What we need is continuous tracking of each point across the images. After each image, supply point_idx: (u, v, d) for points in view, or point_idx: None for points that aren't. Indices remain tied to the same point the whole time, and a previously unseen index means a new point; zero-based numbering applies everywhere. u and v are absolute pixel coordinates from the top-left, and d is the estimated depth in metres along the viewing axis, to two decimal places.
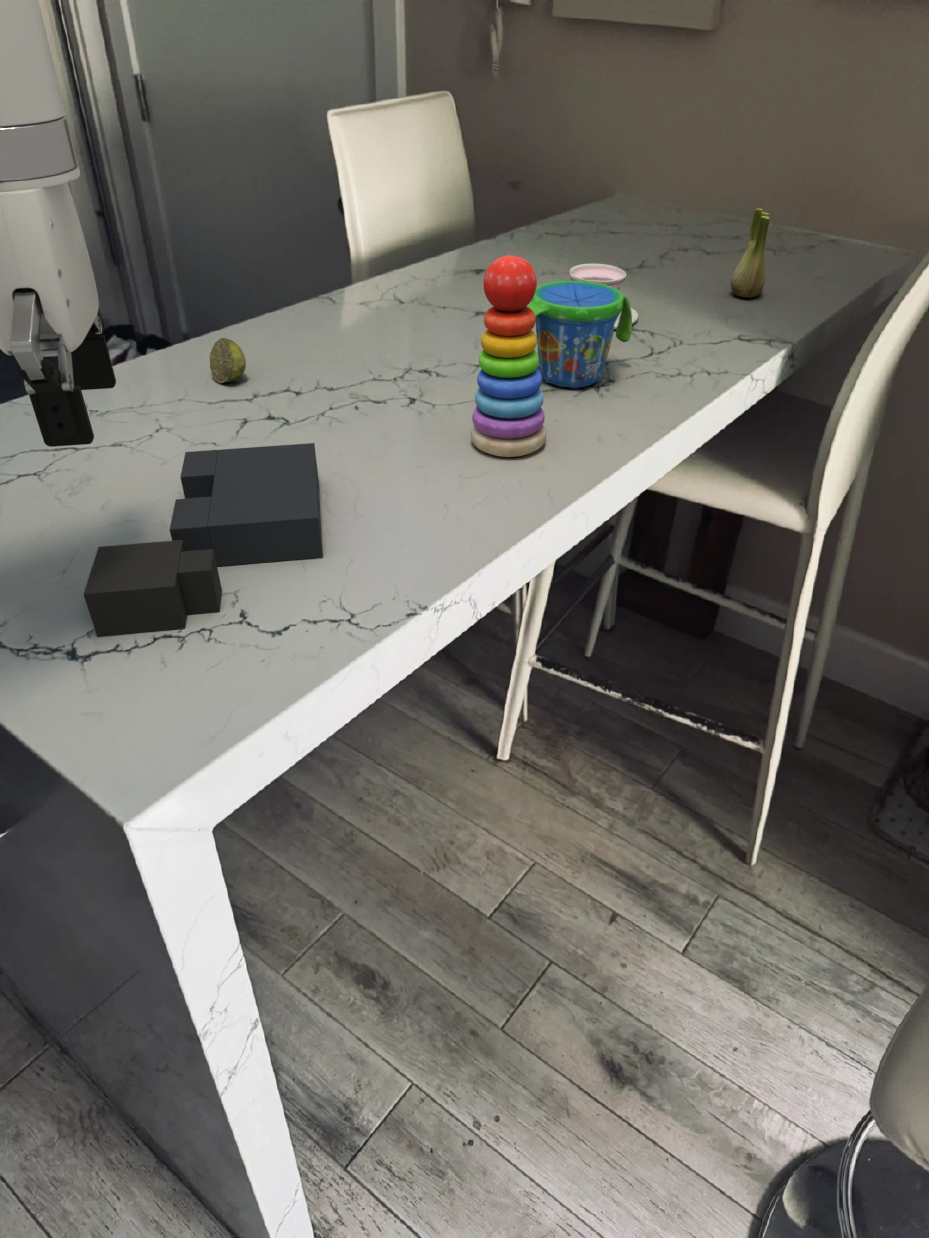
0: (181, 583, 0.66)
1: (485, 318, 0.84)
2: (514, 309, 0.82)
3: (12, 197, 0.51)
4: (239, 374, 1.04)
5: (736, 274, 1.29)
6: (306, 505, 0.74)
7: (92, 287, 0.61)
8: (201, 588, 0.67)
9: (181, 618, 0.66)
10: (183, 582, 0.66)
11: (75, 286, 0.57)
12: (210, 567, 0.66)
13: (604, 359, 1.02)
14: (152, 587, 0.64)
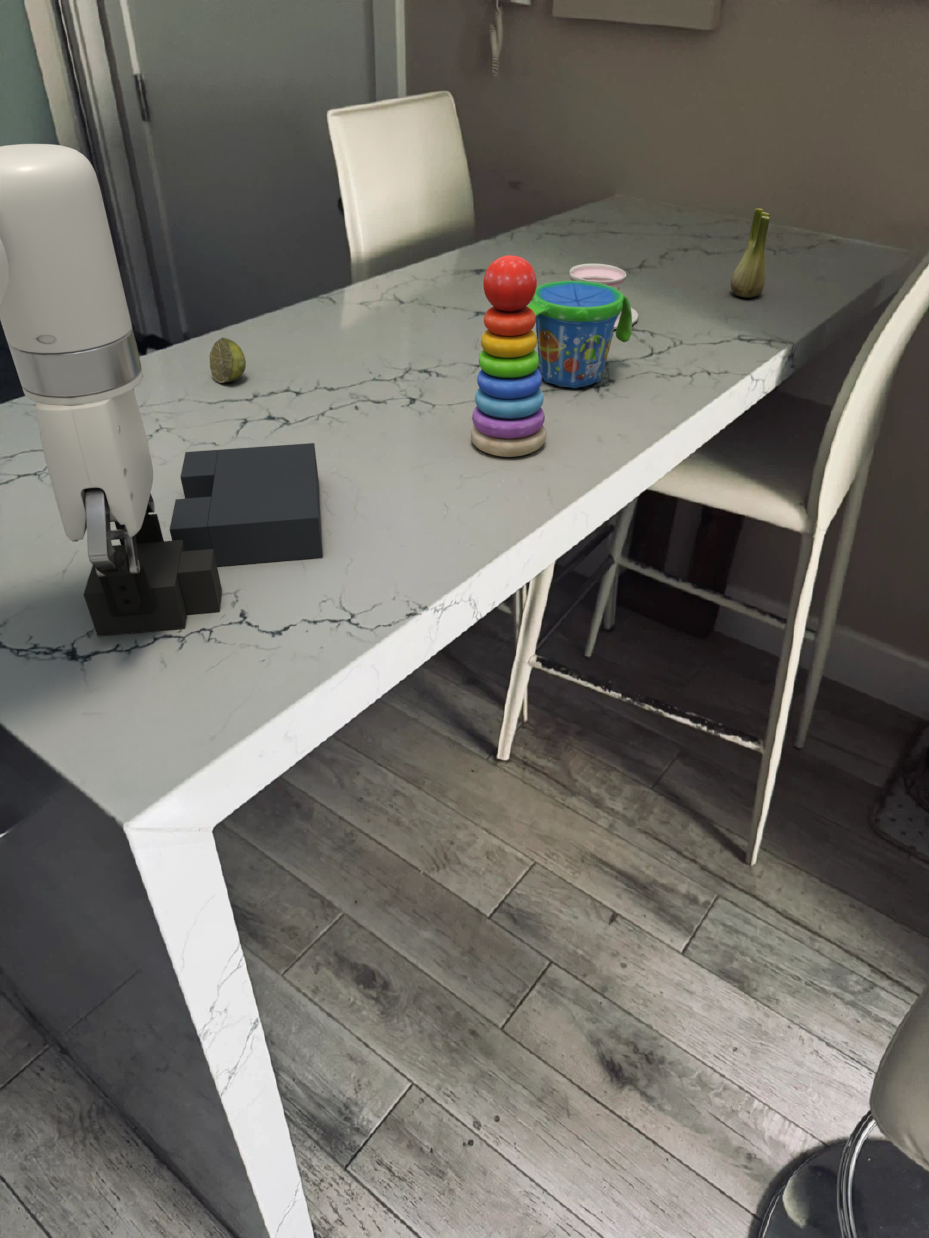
0: (181, 583, 0.66)
1: (485, 318, 0.84)
2: (514, 309, 0.82)
3: (84, 411, 0.55)
4: (239, 374, 1.04)
5: (736, 274, 1.29)
6: (306, 505, 0.74)
7: (149, 463, 0.65)
8: (201, 588, 0.67)
9: (181, 618, 0.66)
10: (183, 582, 0.66)
11: (137, 476, 0.60)
12: (210, 567, 0.66)
13: (604, 359, 1.02)
14: (152, 587, 0.64)
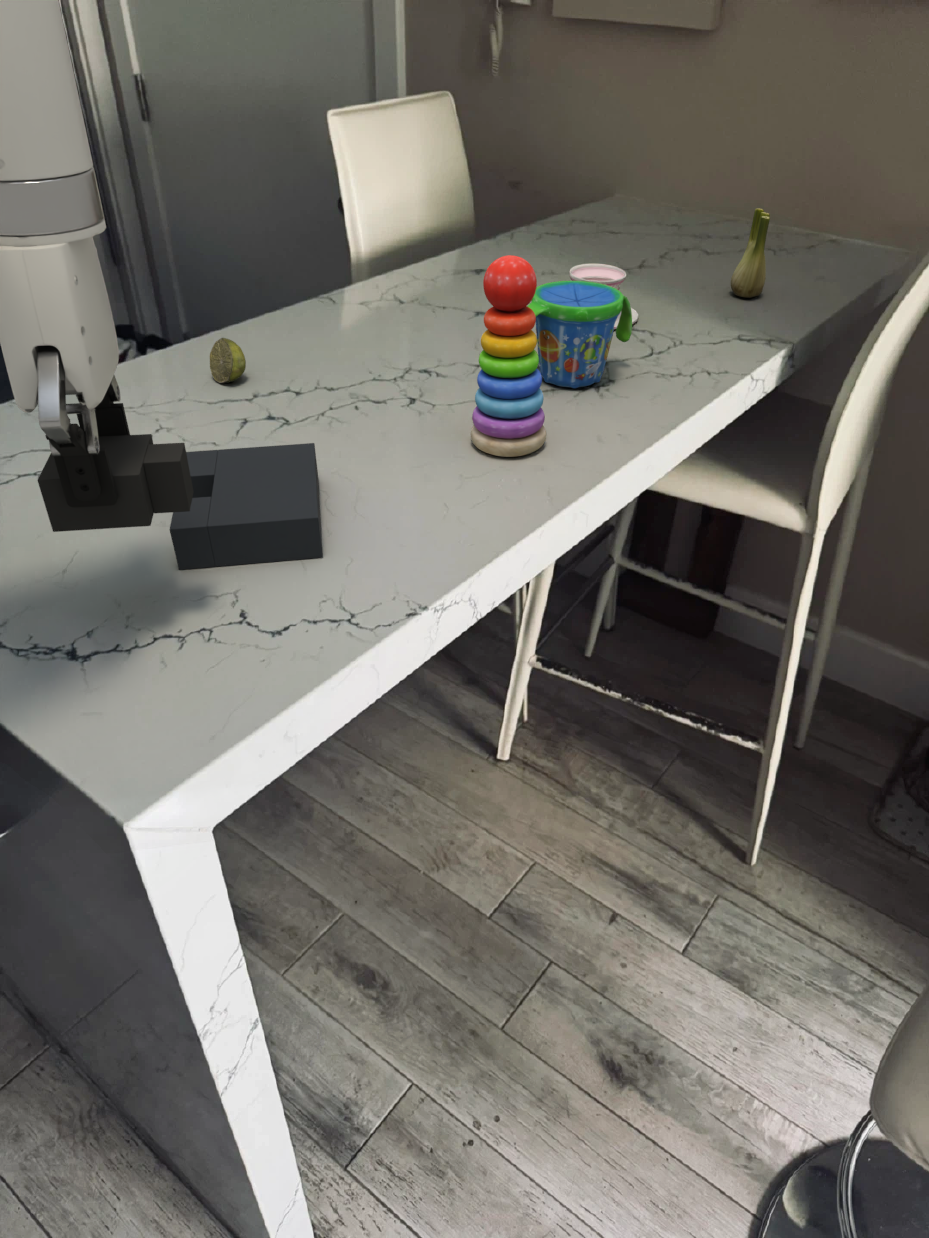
0: (147, 476, 0.61)
1: (485, 318, 0.84)
2: (514, 309, 0.82)
3: (36, 253, 0.49)
4: (239, 374, 1.04)
5: (736, 274, 1.29)
6: (306, 505, 0.74)
7: (113, 339, 0.59)
8: (169, 483, 0.61)
9: (146, 514, 0.60)
10: (149, 474, 0.60)
11: (97, 342, 0.54)
12: (180, 459, 0.61)
13: (604, 359, 1.02)
14: (115, 475, 0.58)
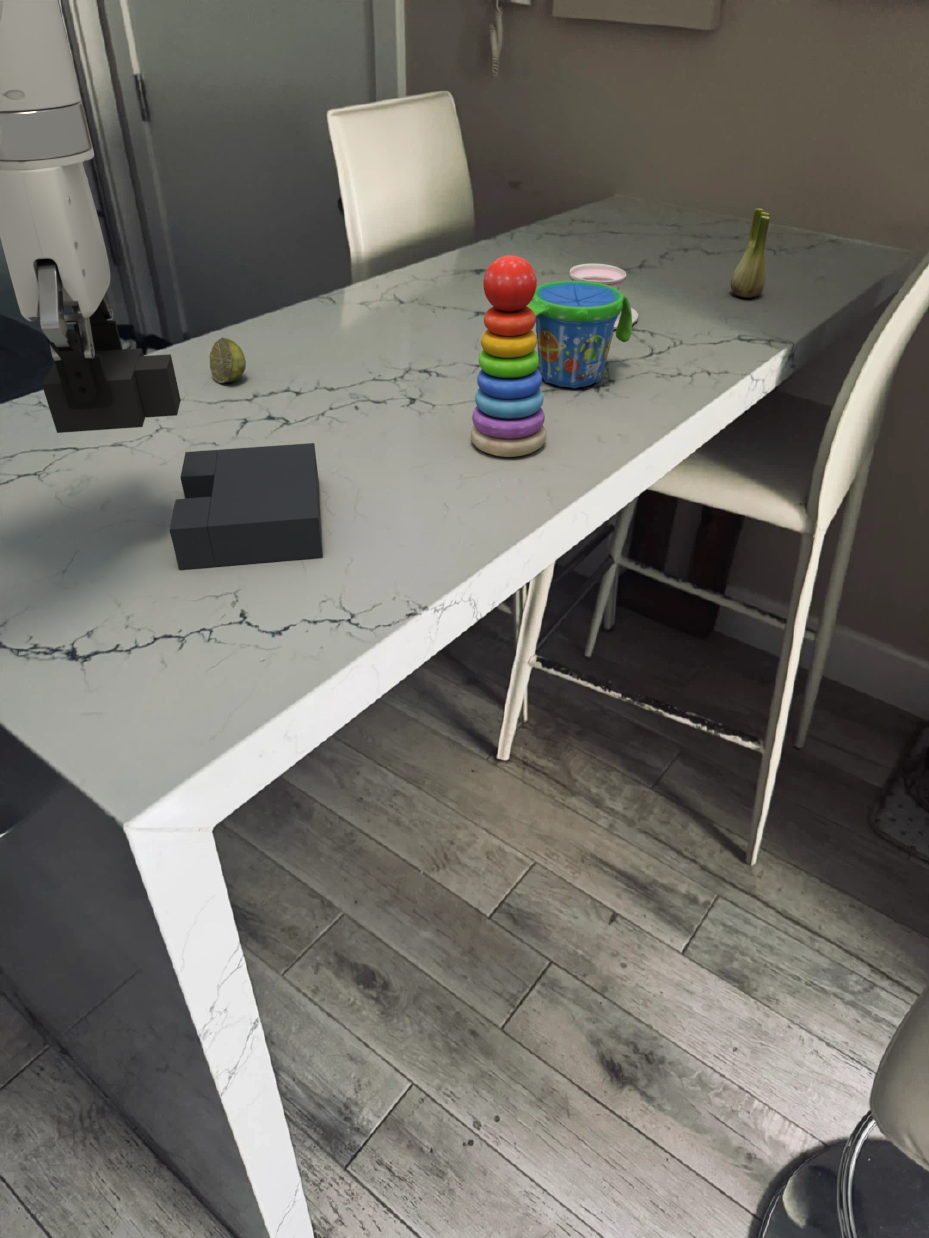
0: (138, 382, 0.69)
1: (485, 318, 0.84)
2: (514, 309, 0.82)
3: (33, 175, 0.57)
4: (239, 374, 1.04)
5: (736, 274, 1.29)
6: (306, 505, 0.74)
7: (104, 260, 0.67)
8: (158, 389, 0.69)
9: (138, 415, 0.68)
10: (140, 381, 0.69)
11: (90, 258, 0.62)
12: (166, 366, 0.69)
13: (604, 359, 1.02)
14: (109, 379, 0.66)
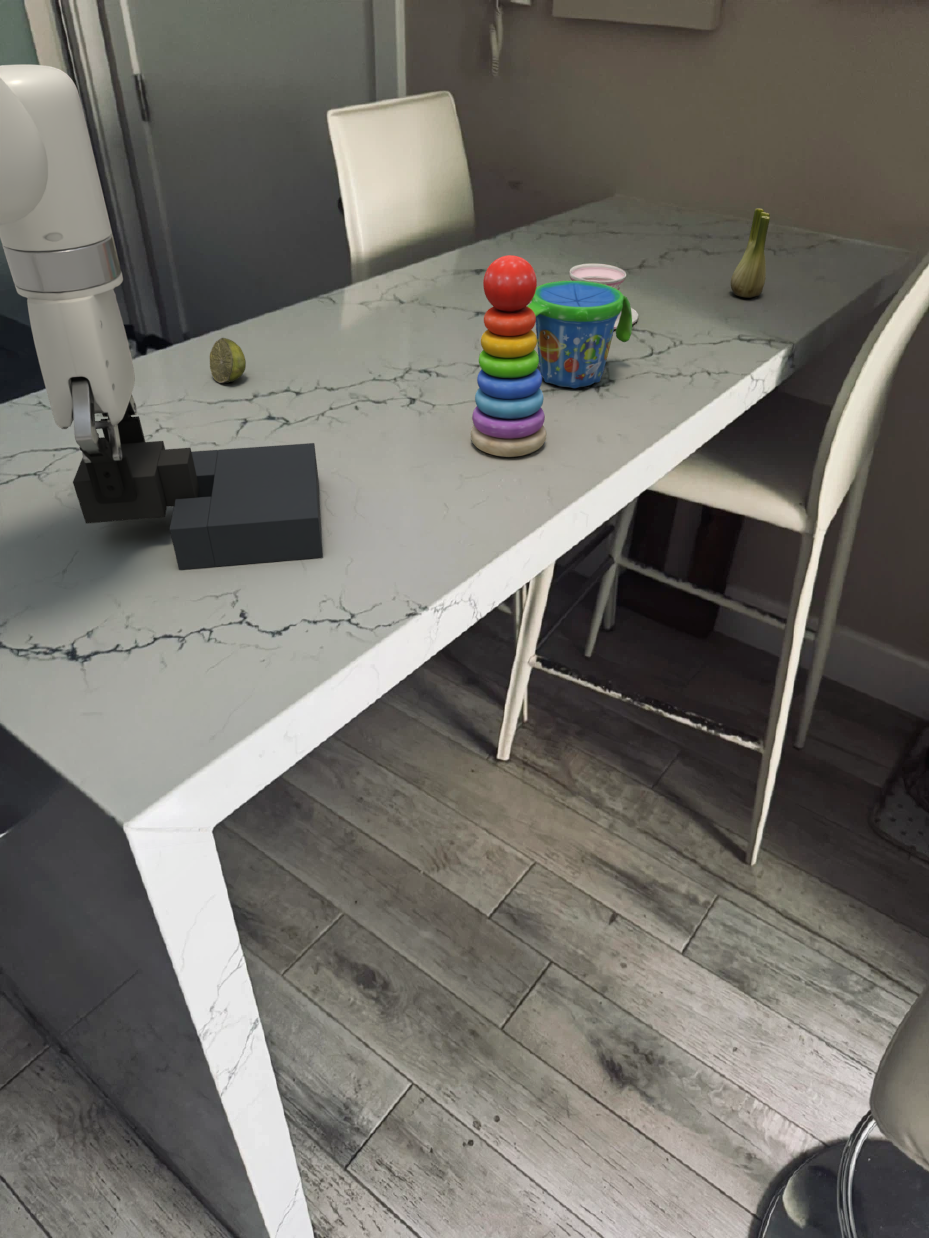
0: (161, 476, 0.74)
1: (485, 318, 0.84)
2: (514, 309, 0.82)
3: (69, 305, 0.62)
4: (239, 374, 1.04)
5: (736, 274, 1.29)
6: (306, 505, 0.74)
7: (130, 366, 0.72)
8: (179, 481, 0.74)
9: (161, 507, 0.74)
10: (163, 475, 0.74)
11: (118, 371, 0.67)
12: (187, 461, 0.74)
13: (604, 359, 1.02)
14: (135, 476, 0.72)
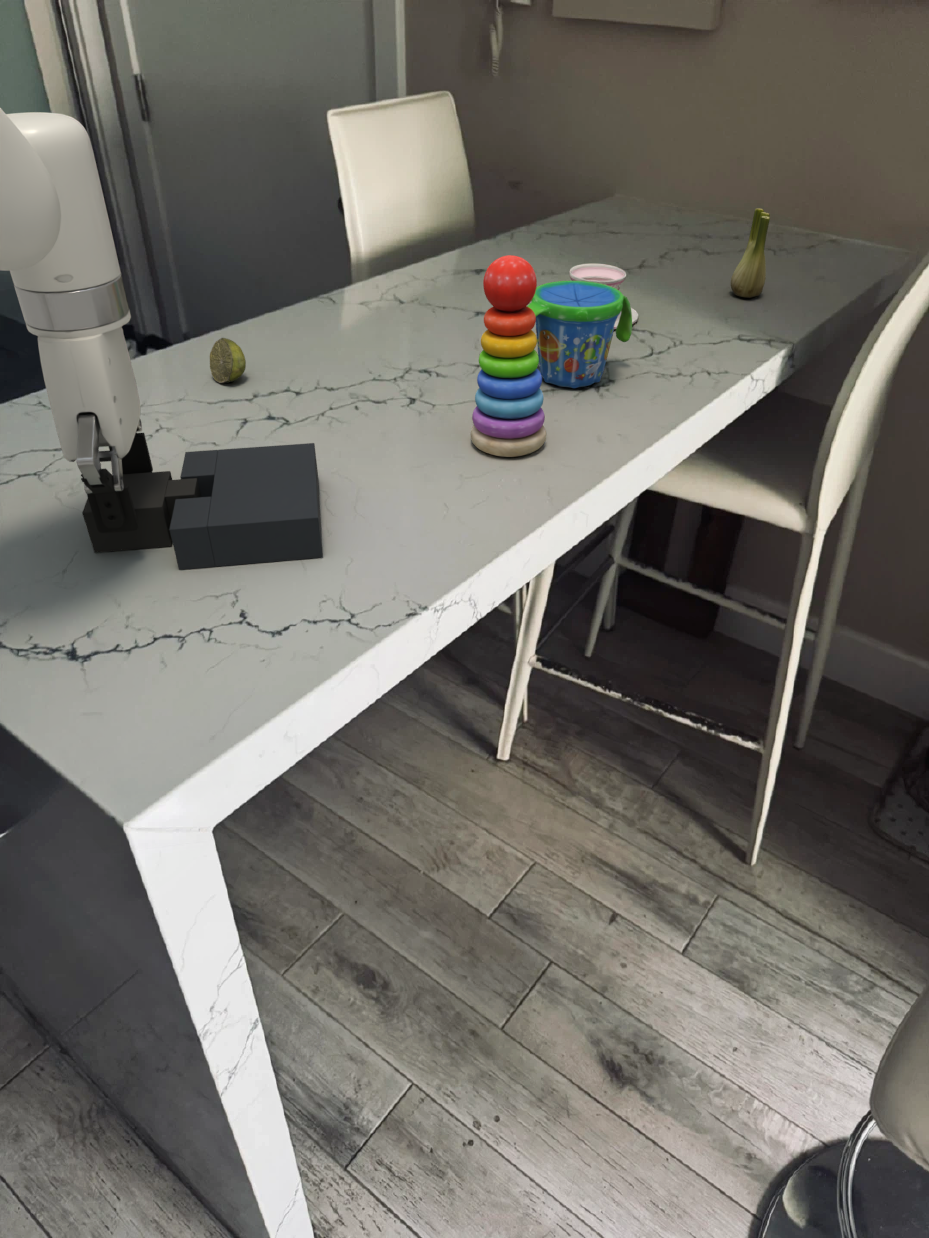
0: (168, 506, 0.76)
1: (485, 318, 0.84)
2: (514, 309, 0.82)
3: (79, 343, 0.64)
4: (239, 374, 1.04)
5: (736, 274, 1.29)
6: (306, 505, 0.74)
7: (136, 399, 0.73)
8: None
9: (168, 537, 0.75)
10: (170, 505, 0.76)
11: (125, 405, 0.69)
12: (193, 492, 0.76)
13: (604, 359, 1.02)
14: (143, 507, 0.74)
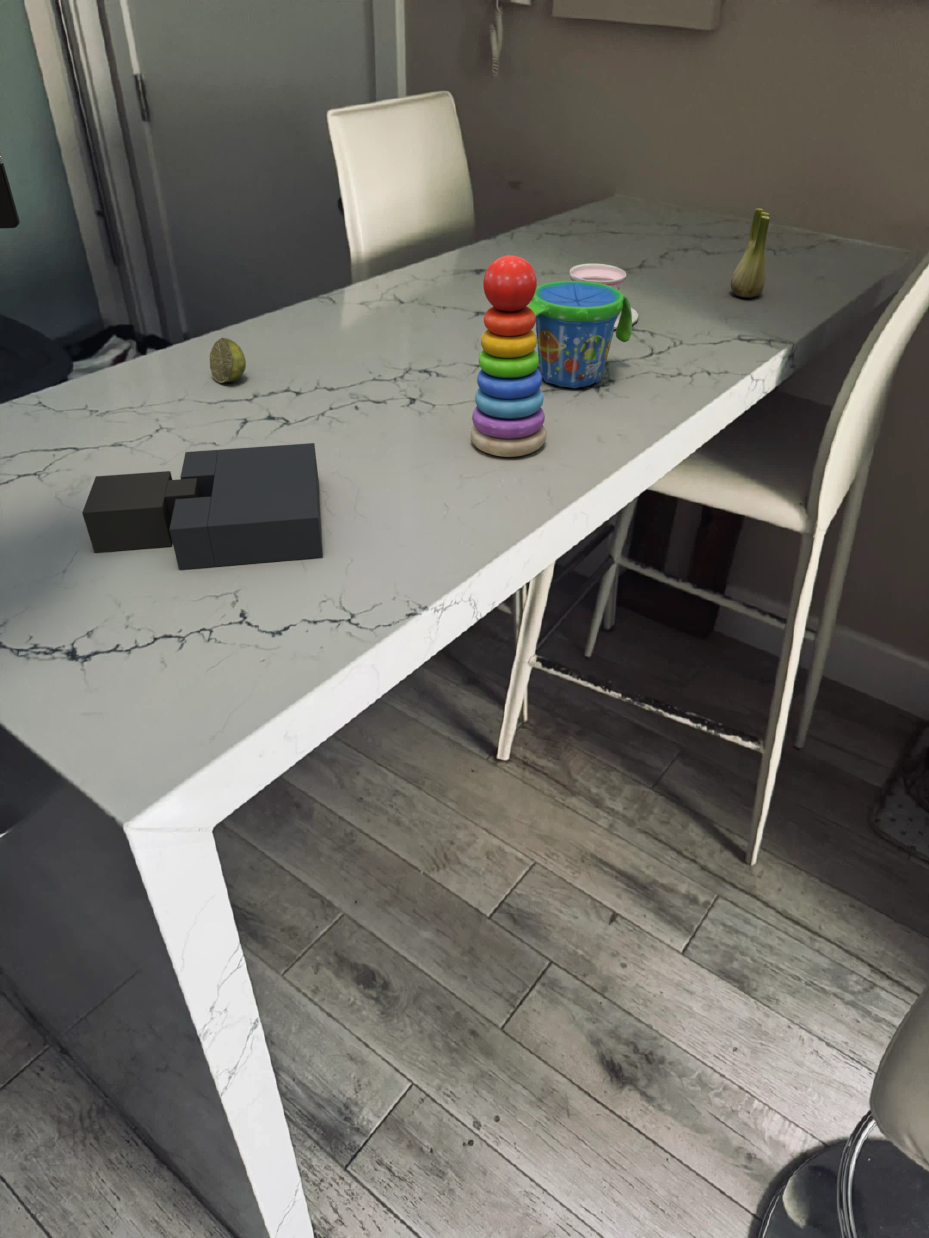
0: (168, 506, 0.76)
1: (485, 318, 0.84)
2: (514, 309, 0.82)
3: None
4: (239, 374, 1.04)
5: (736, 274, 1.29)
6: (306, 505, 0.74)
7: None
8: None
9: (168, 537, 0.75)
10: (170, 505, 0.76)
11: None
12: (193, 492, 0.76)
13: (604, 359, 1.02)
14: (143, 507, 0.74)
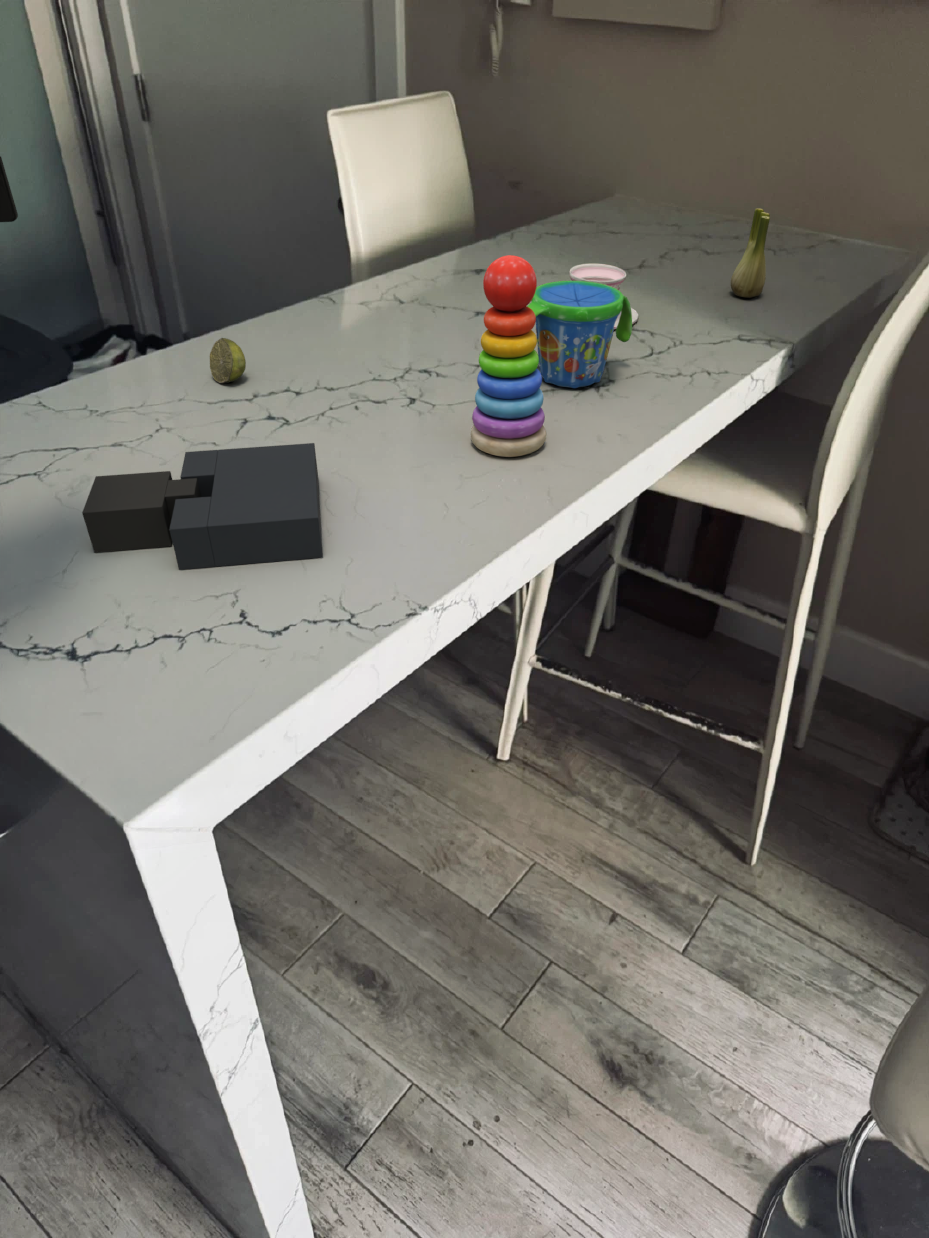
0: (168, 506, 0.76)
1: (485, 318, 0.84)
2: (514, 309, 0.82)
3: None
4: (239, 374, 1.04)
5: (736, 274, 1.29)
6: (306, 505, 0.74)
7: None
8: None
9: (168, 537, 0.75)
10: (170, 505, 0.76)
11: None
12: (193, 492, 0.76)
13: (604, 359, 1.02)
14: (143, 507, 0.74)
